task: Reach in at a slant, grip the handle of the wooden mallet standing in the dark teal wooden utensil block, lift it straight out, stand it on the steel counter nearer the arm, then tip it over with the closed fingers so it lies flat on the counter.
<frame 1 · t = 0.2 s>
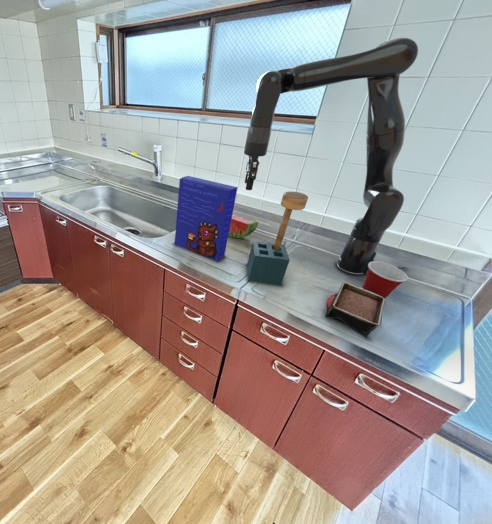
hand: (247, 186, 108), 29 cm above the countertop, tool pointing down, fingers open, 8 cm apart
fruit slice: (227, 233, 140), on the countertop
baking dish: (348, 318, 90), on the countertop
holder: (263, 274, 110), on the countertop
wooden mallet: (269, 272, 111), resting in holder
cereal box: (198, 250, 125), on the countertop
plastic cup: (371, 299, 98), on the countertop
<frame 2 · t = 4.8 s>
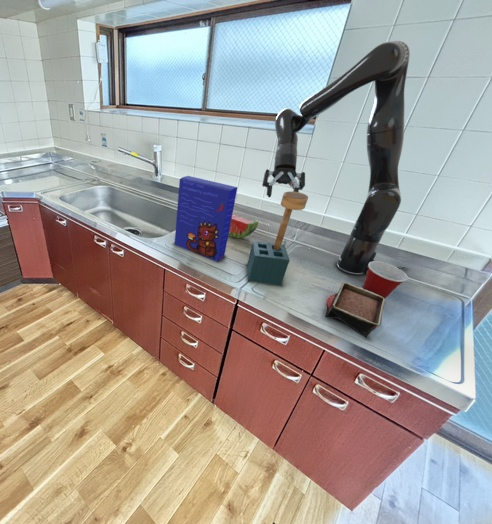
hand: (281, 197, 106), 26 cm above the countertop, tool tilted 45°, fingers open, 8 cm apart
nothing on the countertop moved.
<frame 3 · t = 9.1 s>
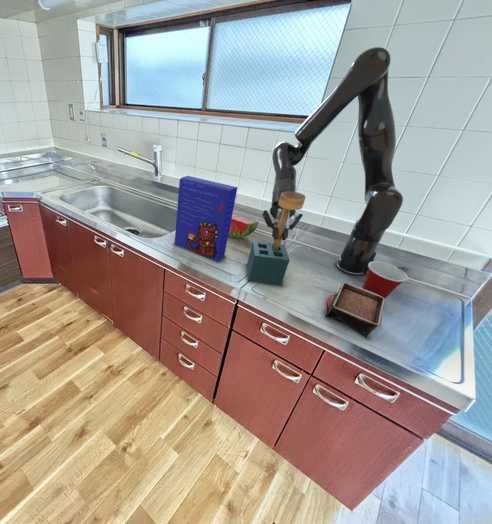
hand: (279, 239, 100), 16 cm above the countertop, tool tilted 45°, fingers closed on wooden mallet
wooden mallet: (268, 272, 111), resting in holder, touching gripper
everything else where it was.
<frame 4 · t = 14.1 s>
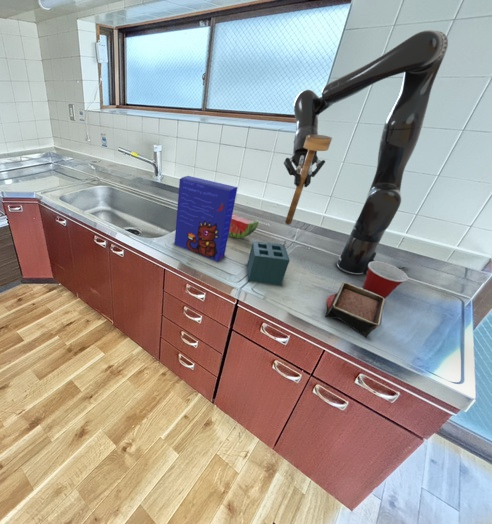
hand: (302, 185, 100), 32 cm above the countertop, tool tilted 45°, fingers closed on wooden mallet
wooden mallet: (287, 224, 111), point 16 cm above the countertop, touching gripper
everything else where it was.
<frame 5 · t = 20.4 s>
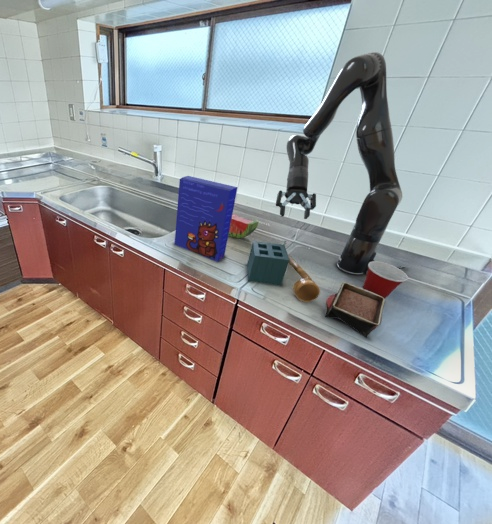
hand: (294, 217, 114), 17 cm above the countertop, tool tilted 45°, fingers open, 8 cm apart
wooden mallet: (283, 252, 123), point 1 cm above the countertop, tilted 79°
everything else where it was.
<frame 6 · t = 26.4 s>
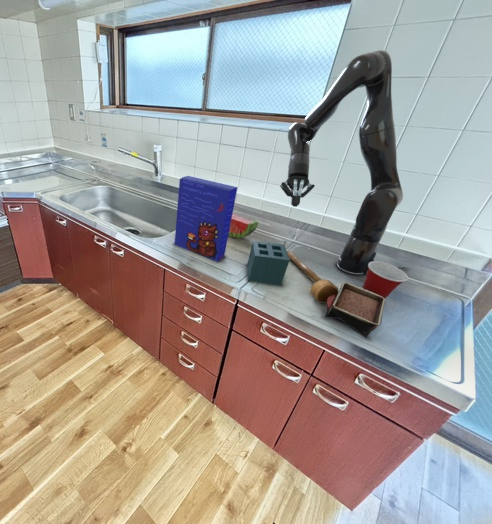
hand: (295, 205, 115), 21 cm above the countertop, tool tilted 45°, fingers closed
baking dish: (348, 318, 90), on the countertop, touching wooden mallet
wooden mallet: (286, 252, 123), point 1 cm above the countertop, tilted 86°, touching baking dish
everything else where it was.
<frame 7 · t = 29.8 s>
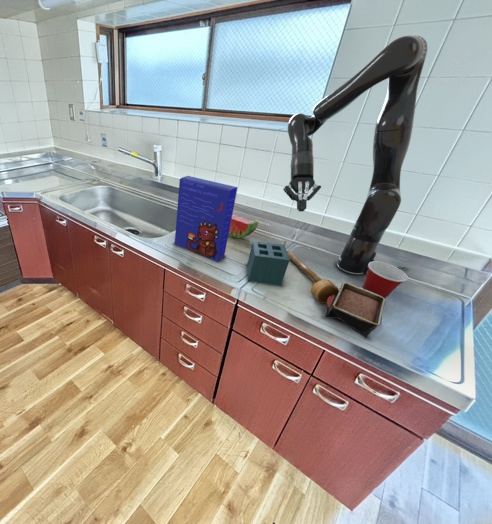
hand: (301, 210, 106), 22 cm above the countertop, tool tilted 40°, fingers closed
nothing on the countertop moved.
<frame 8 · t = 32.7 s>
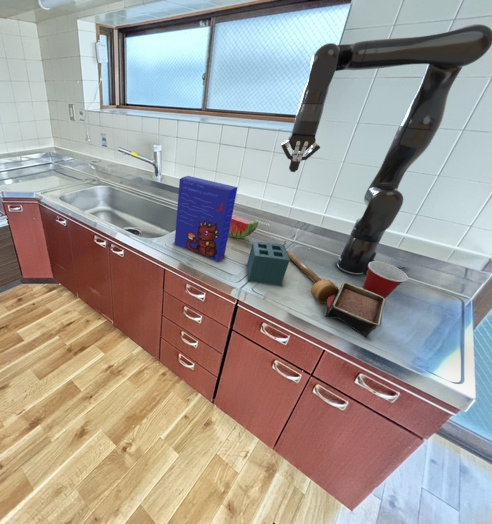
hand: (292, 171, 105), 35 cm above the countertop, tool pointing down, fingers closed
nothing on the countertop moved.
at the end: wooden mallet touching baking dish, countertop; wooden mallet inside the target area (1.8 cm from its centre), point 1.0 cm above the countertop; wooden mallet tilted 87° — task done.
